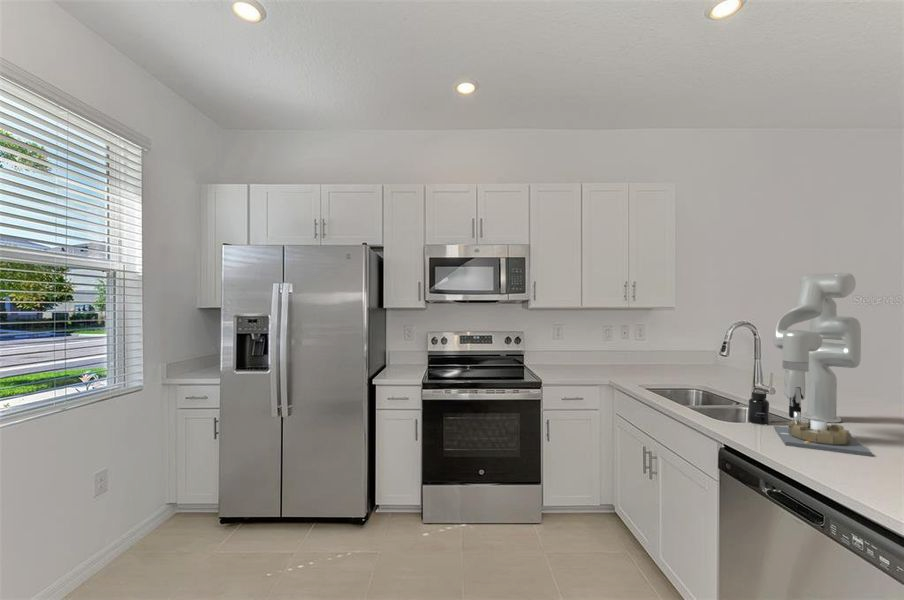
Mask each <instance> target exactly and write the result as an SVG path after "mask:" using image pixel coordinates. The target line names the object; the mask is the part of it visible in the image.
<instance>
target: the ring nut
mask: <svg viewBox="0 0 904 600" xmlns="http://www.w3.org/2000/svg"><path fill="white" fill-rule="evenodd" d="M801 418H802V411H801V412H798V411H794V418H792V420H790V422H789V423H788V427H789V433H790V435H791V436H794V437H797V438H799V439H803V440H807V441H812V442H816V443H824V444H832V445H846V444H848V443H850V435H851V433H850V432H849V431H850V430H847V429H844V426H842V425H839V424H836V423H835V424H833V423H832V424H831V425H828V424H827V430H821V429H818V430H814V429H810V420H811V419H807V422H806V421H802V420H801Z"/></svg>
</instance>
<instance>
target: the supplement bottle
mask: <svg viewBox="0 0 904 600" xmlns="http://www.w3.org/2000/svg"><path fill="white" fill-rule="evenodd" d="M747 405H748V408H747V409H748V412H747V421H748V422H749V423H752V424H754V425H755V424H756V425H762V426H764V425H765V424H767V425H769V420H770V414H769V413H770V402H769V400H767V393H766V392H762V391H752V392H751V397H750V398H749V399H748V404H747Z"/></svg>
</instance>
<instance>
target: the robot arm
mask: <svg viewBox="0 0 904 600" xmlns="http://www.w3.org/2000/svg"><path fill="white" fill-rule="evenodd" d="M856 285H857V284H856V277H855V276H854V275H853V274H852V273H850V272H834V273H833V272H832V273H831V272H830V273H823V272H822V273H809V274H805V275H803V276H801V277H800V279H799V288H798V293H797V296H796V297H797V298H796V301H795V305H794V307H793V308H791V309H789V310H788V311H786V312H785V313H784V314H783V315H781V317H780V318H779V319H778V320H777V322H776V325H775V329H774V330H773V331H774V332H773V337H772V342H773V345H774V346H775V348H777V349H780V350H782V368H781V369H782V370H783V371H784V379H783V380H784V382H783V395H784V396H785V397H786V398H787V399H788V400H789V401H788V402H789V405H788V417H789V418H791V419H794V411H798V412H801V417H803V418H805V419H806V420H822V421H826V422H827V423H832V424H833V423H835V424H836V423H840V422H842V418H841V417H839V416H837V407H838V406H837V401H838V398H837V397H838V396H837V395H838V394H837V392H838V389H837V387H838V379H837V375H836V374H835V372H834V371H833V370H832V369H831V368H830V367H835V368H845V369H847V368H848V369H855V368H858V367H859V365H861V364H860V363H861V360H862V358H861V357H862V328H861V327H862V326H861V323H860V321H859V320H858V319H857V318H856V317H853V316H839V315H837V303H836V301H835V300H834V299H837V298H838V299H843V298H847V297H848V296H850V295H851V294H852V293H853V292H854V291H855V288H856ZM808 320H809V330H800V329H799V330H798V329H789V328H791V327H792V326H793V325H796V324H799V323H803V322H807V321H808ZM823 340H833V341H834V340H835V341H836V340H837V341H844V342H845V343H836V342H825V341H823ZM805 399H806V412H805V411H804V412H802V401H803V400H805Z"/></svg>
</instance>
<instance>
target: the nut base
mask: <svg viewBox="0 0 904 600" xmlns="http://www.w3.org/2000/svg"><path fill="white" fill-rule="evenodd" d="M809 420H810V429H814V430H818V429H821V430H827V425H828V422H826V421H822V420H811V419H809ZM773 429H775V430H774V431H775V433H776V434H777V435H778V437H779V439H781V441H782V443H783V444H784V446H787V447H795V448H803V449H810V450H818V451H825V452H826V451H827V452H834V453H842V454H848V455H849V454H850V455H857V456H865V457H873V453H872V451H871V450H870V449H868V448H867V447H866V446H864V445H863V444H862V443H861V442H860V441H858V440H857V439H856V438H855V437H854V436H852V435H851V434H850V443H848V444H846V445H832V444H824V443H816V442H812V441H807V440H803V439H799V438H797V437H794V436H791V435H790V433H789V426H788V427H787V426H776V425H774V426H773Z"/></svg>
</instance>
